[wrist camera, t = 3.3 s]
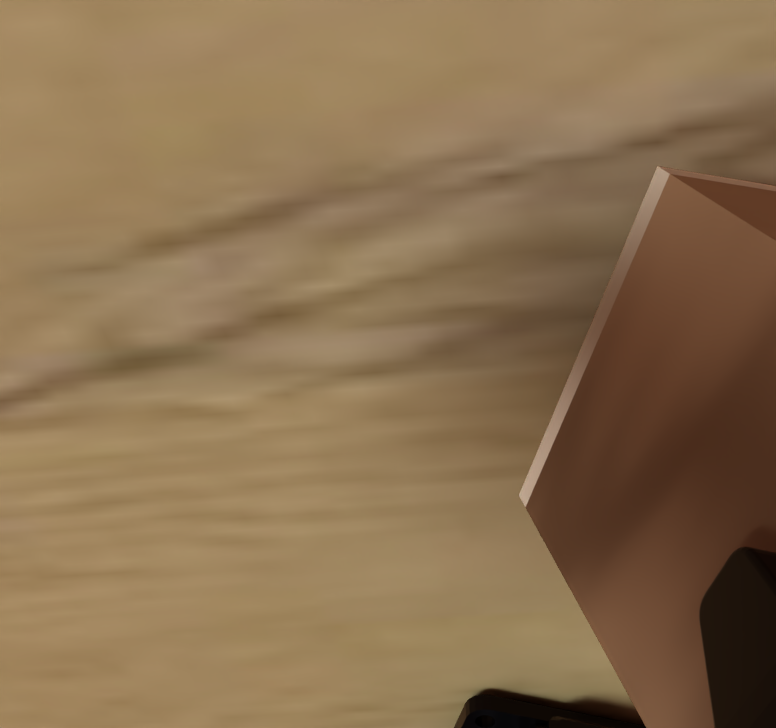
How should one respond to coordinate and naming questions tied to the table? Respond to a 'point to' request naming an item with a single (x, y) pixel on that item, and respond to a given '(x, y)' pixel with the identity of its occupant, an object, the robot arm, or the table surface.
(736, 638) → the robot arm
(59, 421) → the table surface
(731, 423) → the walnut cube
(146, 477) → the table surface
